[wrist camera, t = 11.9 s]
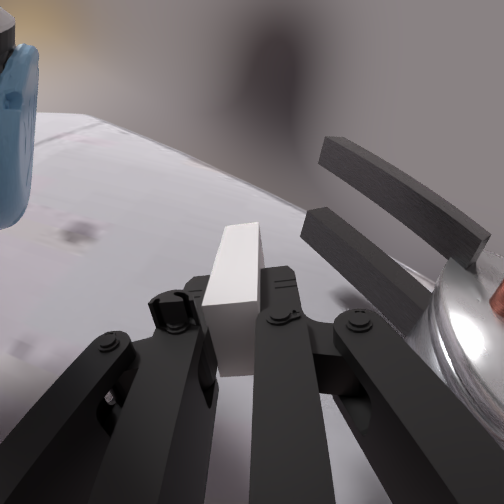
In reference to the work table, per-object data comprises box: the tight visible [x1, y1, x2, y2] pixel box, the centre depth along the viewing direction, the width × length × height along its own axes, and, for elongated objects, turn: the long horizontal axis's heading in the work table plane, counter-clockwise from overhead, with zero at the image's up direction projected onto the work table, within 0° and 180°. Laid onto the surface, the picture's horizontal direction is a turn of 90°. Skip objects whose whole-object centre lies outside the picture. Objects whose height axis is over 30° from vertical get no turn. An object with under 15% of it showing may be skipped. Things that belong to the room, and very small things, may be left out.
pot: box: [300, 207, 504, 450], centre depth 21 cm, size 26×26×11 cm
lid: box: [318, 136, 504, 432], centre depth 17 cm, size 35×17×4 cm, turn 31°
